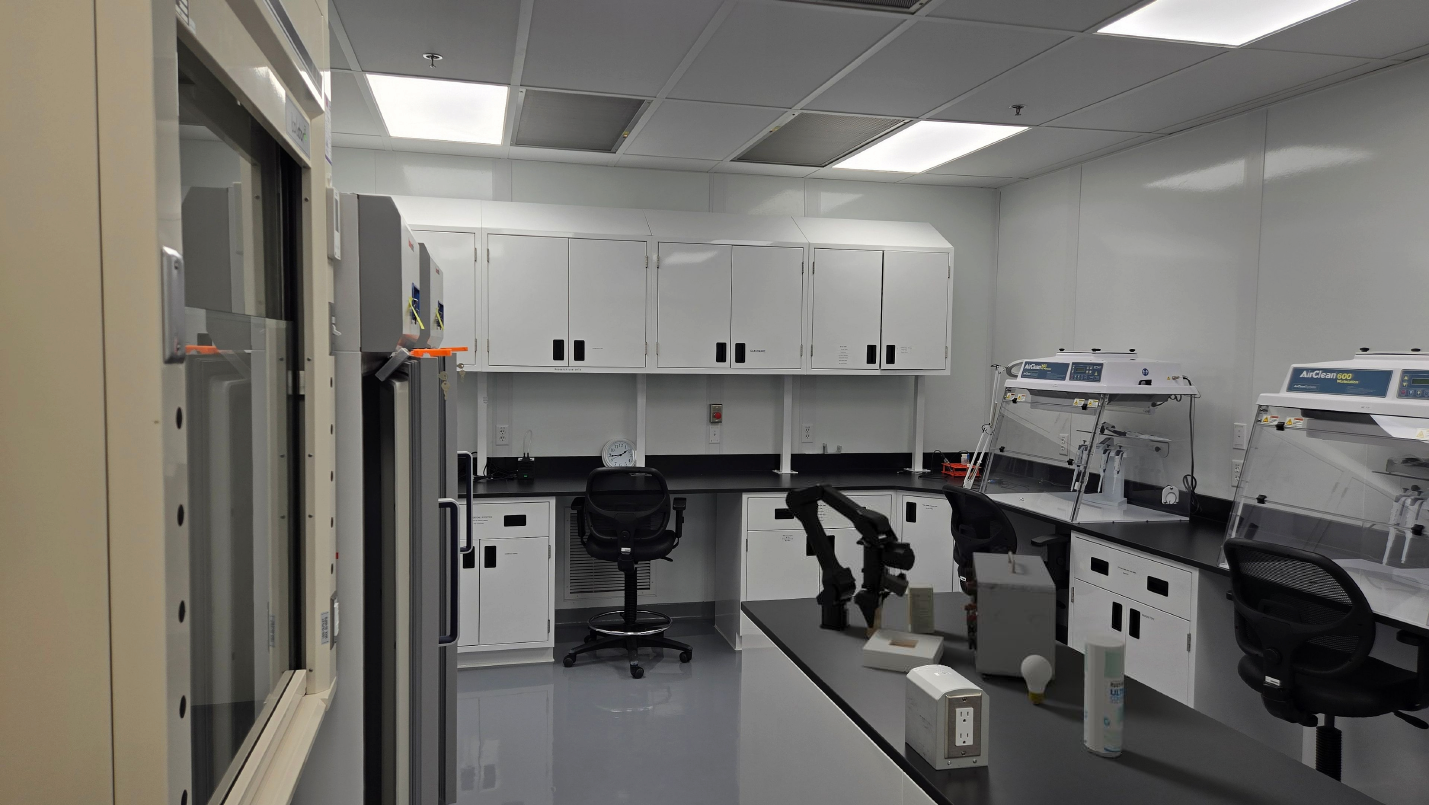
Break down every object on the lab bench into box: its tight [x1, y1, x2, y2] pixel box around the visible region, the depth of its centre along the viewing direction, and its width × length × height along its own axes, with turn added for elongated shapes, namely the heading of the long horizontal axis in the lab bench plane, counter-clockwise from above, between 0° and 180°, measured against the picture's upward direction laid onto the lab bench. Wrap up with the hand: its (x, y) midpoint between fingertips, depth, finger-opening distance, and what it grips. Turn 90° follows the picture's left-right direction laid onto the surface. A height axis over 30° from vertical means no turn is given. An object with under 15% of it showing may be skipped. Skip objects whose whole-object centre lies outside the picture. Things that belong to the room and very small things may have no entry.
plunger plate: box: [894, 644, 915, 648], centre depth 194 cm, size 5×5×1 cm
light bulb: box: [1021, 655, 1052, 704], centre depth 168 cm, size 6×6×10 cm
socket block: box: [861, 629, 944, 673], centre depth 194 cm, size 16×16×4 cm
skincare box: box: [907, 583, 935, 634], centre depth 215 cm, size 6×4×12 cm
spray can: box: [1083, 634, 1126, 753], centre depth 147 cm, size 6×6×20 cm
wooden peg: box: [866, 601, 883, 639], centre depth 210 cm, size 4×4×10 cm
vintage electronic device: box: [964, 551, 1057, 683], centre depth 194 cm, size 32×18×25 cm, turn 164°
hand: (874, 623), depth 210 cm, fingers open, 7 cm apart
